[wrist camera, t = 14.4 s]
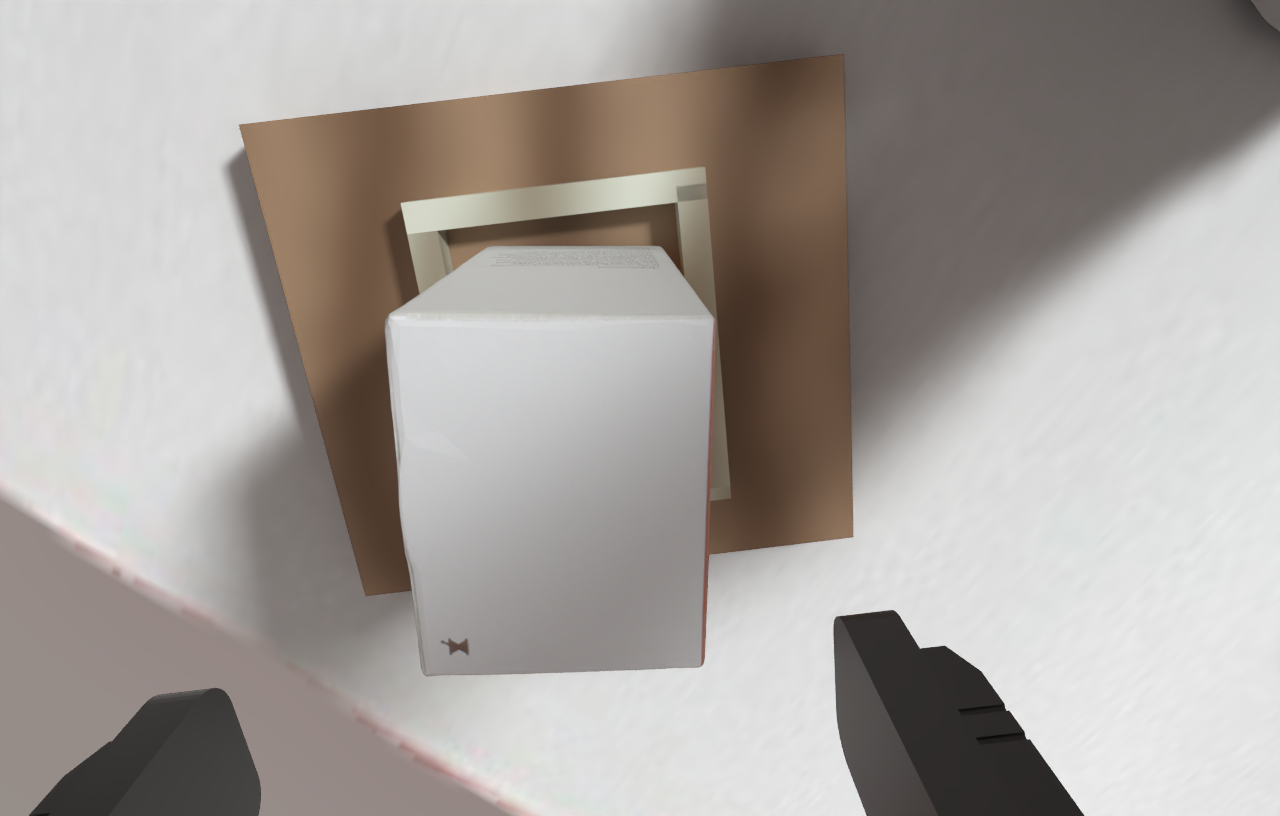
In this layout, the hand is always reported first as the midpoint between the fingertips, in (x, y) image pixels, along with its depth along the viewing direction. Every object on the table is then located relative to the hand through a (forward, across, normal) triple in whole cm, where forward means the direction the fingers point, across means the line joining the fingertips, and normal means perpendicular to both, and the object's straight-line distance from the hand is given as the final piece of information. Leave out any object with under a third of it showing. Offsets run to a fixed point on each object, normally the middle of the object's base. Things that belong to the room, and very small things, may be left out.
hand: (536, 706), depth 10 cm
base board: (+20, 0, 0) cm, 20 cm away
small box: (+18, 0, 0) cm, 19 cm away
